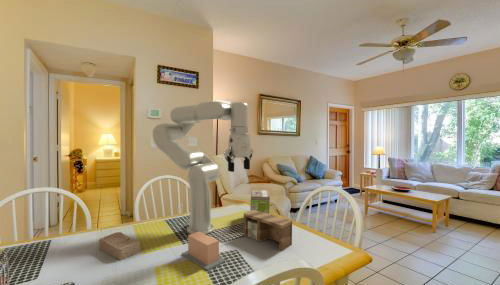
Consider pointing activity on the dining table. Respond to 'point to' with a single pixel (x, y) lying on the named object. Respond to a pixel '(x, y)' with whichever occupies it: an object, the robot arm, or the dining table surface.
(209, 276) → the dining table surface
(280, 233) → the cubby
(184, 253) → the mat
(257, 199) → the tea box
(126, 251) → the brick
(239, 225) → the dining table surface
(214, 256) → the block
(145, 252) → the dining table surface
